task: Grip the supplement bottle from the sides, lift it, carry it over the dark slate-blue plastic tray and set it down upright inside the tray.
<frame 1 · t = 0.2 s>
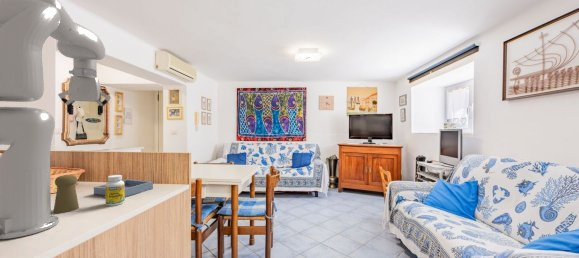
hand: (85, 114, 104), 31 cm above the kitchen counter, tool pointing down, fingers open, 9 cm apart
tray: (124, 191, 98), on the kitchen counter
supplement bottle: (115, 204, 84), on the kitchen counter
olive pepper mill: (66, 210, 78), on the kitchen counter
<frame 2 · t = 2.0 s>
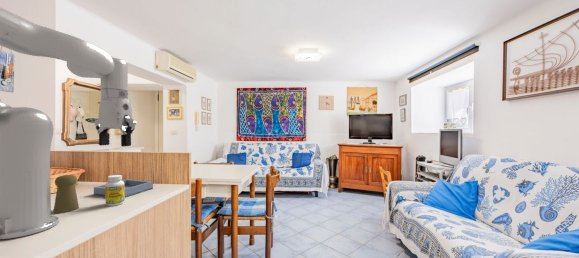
hand: (115, 145, 84), 20 cm above the kitchen counter, tool pointing down, fingers open, 9 cm apart
nothing on the kitchen counter moved.
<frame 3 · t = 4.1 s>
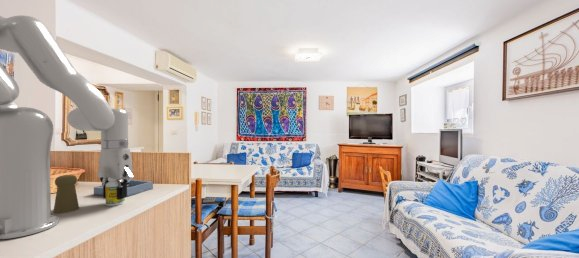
hand: (115, 196, 84), 2 cm above the kitchen counter, tool pointing down, fingers closed on supplement bottle, 5 cm apart
supplement bottle: (115, 204, 84), on the kitchen counter, touching gripper
everything else where it was.
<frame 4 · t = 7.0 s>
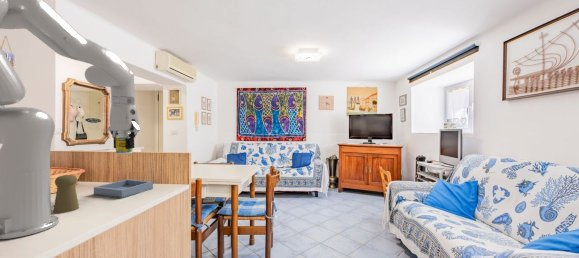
hand: (124, 147, 96), 18 cm above the kitchen counter, tool pointing down, fingers closed on supplement bottle, 5 cm apart
supplement bottle: (124, 154, 96), point 15 cm above the kitchen counter, touching gripper
everything else where it was.
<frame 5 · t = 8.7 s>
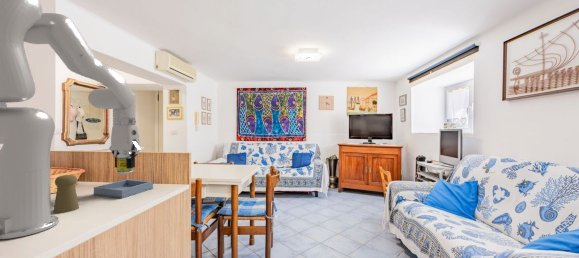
hand: (124, 167, 98), 10 cm above the kitchen counter, tool pointing down, fingers closed on supplement bottle, 5 cm apart
supplement bottle: (125, 173, 98), point 7 cm above the kitchen counter, touching gripper
everything else where it was.
when the fingers open (4 cm above the kitchen counter, at t = 10.2 s): supplement bottle drops 1 cm, resting on tray.
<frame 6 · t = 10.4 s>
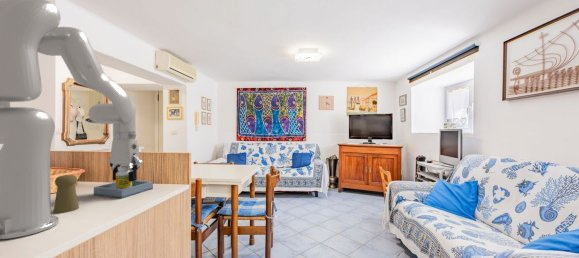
hand: (124, 180, 98), 5 cm above the kitchen counter, tool pointing down, fingers open, 7 cm apart
supplement bottle: (124, 190, 98), resting on tray
everything else where it was.
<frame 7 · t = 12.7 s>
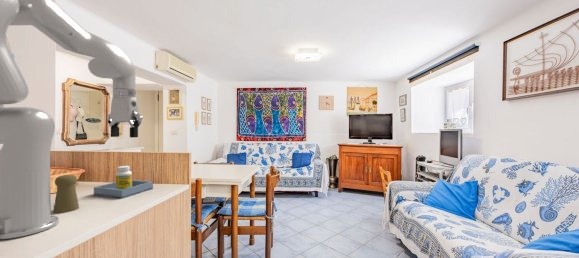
hand: (124, 137, 98), 22 cm above the kitchen counter, tool pointing down, fingers open, 9 cm apart
nothing on the kitchen counter moved.
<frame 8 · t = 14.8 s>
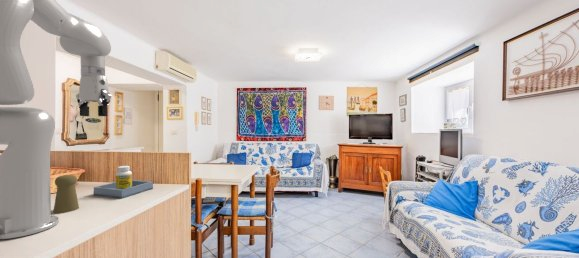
hand: (93, 116, 97), 30 cm above the kitchen counter, tool pointing down, fingers open, 9 cm apart
nothing on the kitchen counter moved.
at the end: supplement bottle inside the target area on the tray (0.2 cm from its centre), point 0.4 cm above the tray's base; supplement bottle tilted 0°; the gripper is holding nothing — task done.
